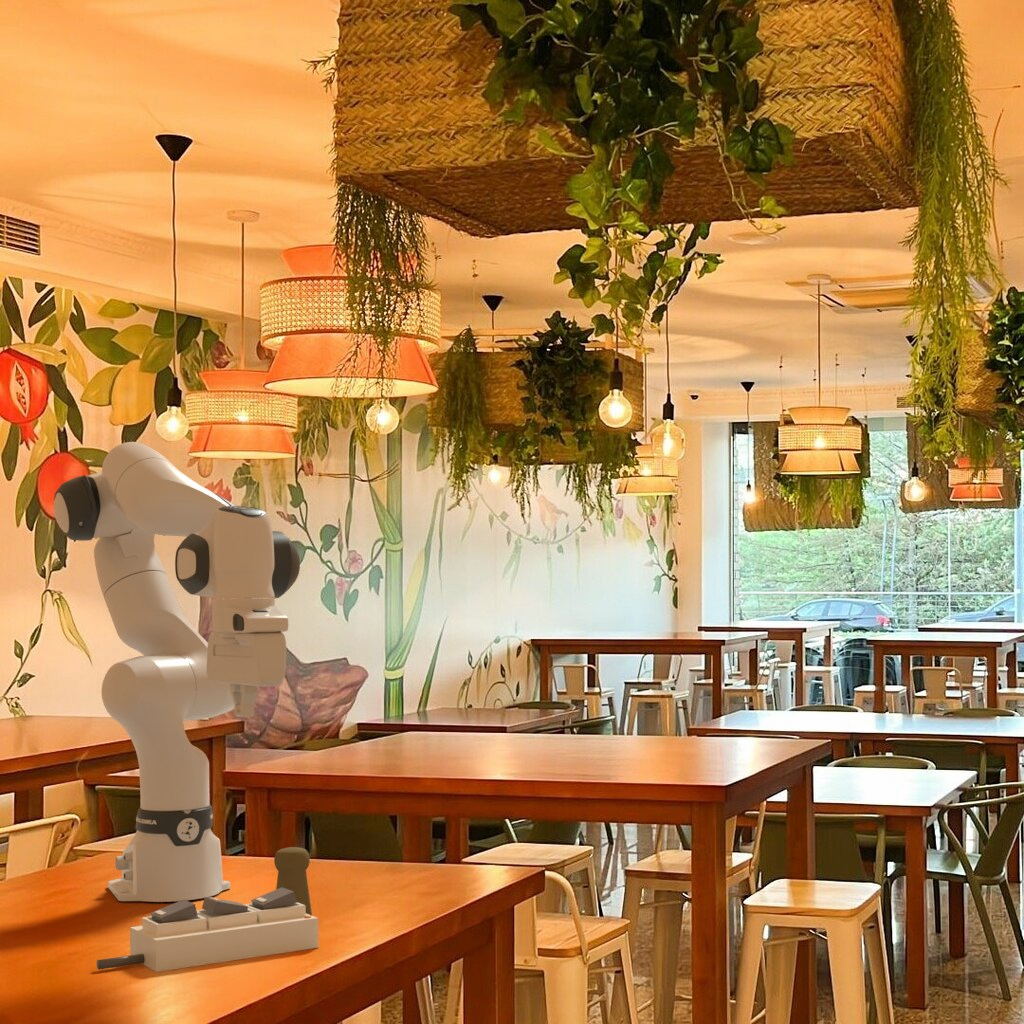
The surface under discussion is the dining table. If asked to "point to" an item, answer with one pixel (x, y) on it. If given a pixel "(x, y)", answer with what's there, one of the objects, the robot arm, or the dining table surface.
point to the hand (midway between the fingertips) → (244, 716)
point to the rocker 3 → (275, 899)
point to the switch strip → (218, 938)
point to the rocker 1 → (175, 912)
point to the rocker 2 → (223, 906)
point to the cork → (294, 873)
